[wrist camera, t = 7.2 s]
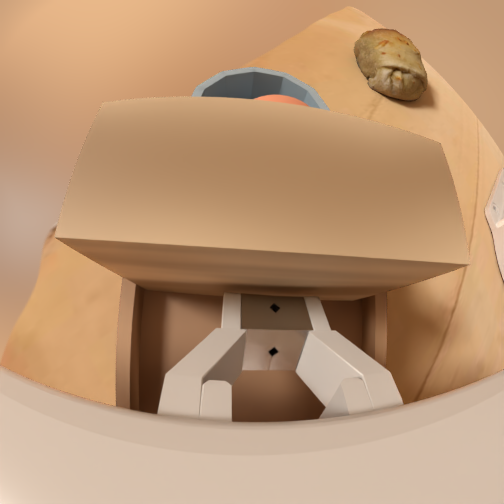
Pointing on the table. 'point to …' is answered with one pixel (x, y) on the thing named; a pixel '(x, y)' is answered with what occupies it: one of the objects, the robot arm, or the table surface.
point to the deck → (200, 326)
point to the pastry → (391, 64)
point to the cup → (258, 86)
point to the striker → (260, 200)
